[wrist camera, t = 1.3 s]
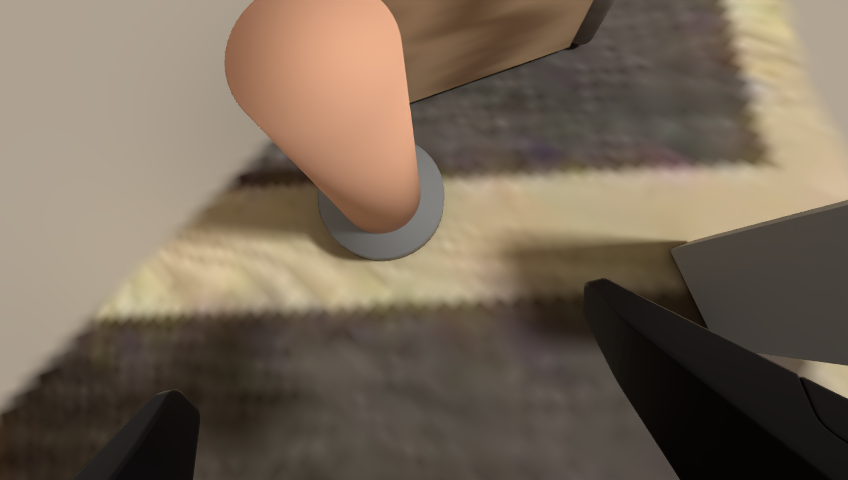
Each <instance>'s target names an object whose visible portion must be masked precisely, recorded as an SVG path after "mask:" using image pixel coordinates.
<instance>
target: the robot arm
mask: <svg viewBox="0 0 848 480" xmlns="http://www.w3.org/2000/svg"><path fill="white" fill-rule="evenodd" d="M583 313H584V316H585V319H586V321H587V323H588V325H589V327H590V329H591V331H592V333H593V335H594V337H595V339H596V341H597V343H598V345H599V347H600V349H601V351H602V353H603V355H604V357H605V359H606V361H607V363H608V365H609V367H610V369H611V371H612V373H613V375H614V377H615V378H616V380H617V382H618V384H619V385H620V387H621V389H622V390H623V392H624V393H625V395H626V397H627V398H628V400H629V401H630V403H631V404H632V406H633V407H634V409H635V411H636V412H637V414H638V415H639V417H640V418H641V420H642V421H643V423H644V424H645V426H646V428H647V429H648V431H649V432H650V434H651V435H652V437H653V438H654V440H655V442H656V443H657V445H658V446H659V448H660V449H661V451H662V452H663V454H664V456H665V457H666V459H667V460H668V462H669V463H670V465H671V466H672V468H673V469H674V471H675V473H676V474H677V476H678V477H679V479H680V480H848V399H847V398H845V397H843V396H841V395H839V394H837V393H835V392H833V391H831V390H829V389H827V388H825V387H823V386H821V385H819V384H817V383H815V382H813V381H811V380H809V379H807V378H805V377H800V378H799V376H798V375H797V374H796V373H794V372H792V371H790V370H788V369H786V368H784V367H782V366H780V365H778V364H776V363H774V362H772V361H770V360H768V359H766V358H764V357H762V356H760V355H758V354H756V353H754V352H752V351H750V350H748V349H746V348H744V347H742V346H740V345H738V344H736V343H734V342H732V341H730V340H728V339H726V338H724V337H722V336H720V335H718V334H716V333H714V332H712V331H710V330H708V329H706V328H704V327H702V326H700V325H698V324H696V323H694V322H692V321H690V320H688V319H686V318H684V317H682V316H680V315H678V314H676V313H674V312H672V311H670V310H668V309H666V308H664V307H662V306H660V305H658V304H656V303H654V302H652V301H650V300H648V299H646V298H644V297H642V296H640V295H638V294H636V293H634V292H632V291H630V290H628V289H626V288H624V287H622V286H620V285H618V284H616V283H614V282H612V281H610V280H608V279H605V278H601V279H597V280H593V281H589V282H587V283H586V284H585V285H584V296H583ZM199 424H200V414H199V411H198V409H197V408H196V406H195V405H194V404H193V403H192V402H191V401H190V400H189V399H188V398H187V397H186V396H185V395H184V394H183V393H182V392H181V391H180V390H177V389H172V390H168V391H164V392H160V393H157V394H155V395H154V396H153V397H152V398H151V399H150V400H149V401H148V402H147V403H146V404H145V405H144V406H143V407H142V408H141V409H140V410H139V411H138V412H137V413H136V414H135V415H134V416H133V417H132V418H131V419H130V420H129V421H128V422H127V423H126V424H125V425H124V427H123V428H122V429H121V430H120V431H119V432H118V433H117V434H116V435H115V436H114V437H113V438H112V439H111V440H110V441H109V442H108V443H107V444H106V445H105V446H104V447H103V448H102V449H101V450H100V451H99V452H98V453H97V454H96V455H95V456H94V457H93V458H92V460H91V461H90V462H89V463H88V464H87V465H86V466H85V467H84V468H83V469H82V470H81V471H80V472H79V473H78V474H77V475H76V476H75V477H74V478H73V479H72V480H193V475H194V467H195V458H196V450H197V441H198V433H199Z"/></svg>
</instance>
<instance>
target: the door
mask: <svg viewBox="0 0 848 480" xmlns="http://www.w3.org/2000/svg"><path fill="white" fill-rule="evenodd" d="M381 1H382V2H383V3H384V4H385V5H386V6H387V7H388V9H389V10H390V12H391V13H392V15H393V17H394V19H395V21H396V23H397V25H398V28H399V32H400V35H401V41H402V48H403V56H404V64H405V72H406V80H407V88H408V96H409V103H411V102H414V101H417V100H420V99H423V98H426V97H428V96H431V95H434V94H437V93H440V92H443V91H445V90H448V89H451V88H454V87H457V86H460V85H463V84H465V83H468V82H471V81H474V80H477V79H480V78H482V77H485V76H488V75H491V74H494V73H497V72H499V71H502V70H505V69H508V68H511V67H514V66H517V65H519V64H522V63H525V62H528V61H531V60H534V59H536V58H539V57H542V56H545V55H548V54H551V53H554V52H556V51H559V50H562V49H565V48H568V47H570V45H571V43H574V44H579V45H581V44H586V43H588V42H589V41H591V39H592V38H593V36H594V35H595V33H596V31H597V29H598V28H599V26H600V24H601V23H602V21H603V19H604V17H605V16H606V14H607V12H608V11H609V9H610V7H611V5H612V4H613V2H614V0H381Z"/></svg>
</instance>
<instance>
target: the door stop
mask: <svg viewBox="0 0 848 480" xmlns="http://www.w3.org/2000/svg"><path fill="white" fill-rule="evenodd" d="M225 73H226V78H227V82H228V85H229V87H230V90H231V93H232V95H233V96H234V98H235V100H236V102H237V103H238V104H239V106H240V107H241V108H242V109H243V111H245V113H246V114H247V115H248V116H249V117H250V118H251V119H252V120H253V121H254V122H255V123H256V124H257V125H258V126H259V127H260V128H261V129H262V130H263V131H264V132H265V133H266V134H267V135H268V136H269V137H270V138H271V139H272V141H273V142H274V143H275V144H276V145H277V146H278V147H279V148H280V149H281V150H282V151H283V152H284V153H285V154H286V155H287V156H288V157H289V158H290V159H291V160H292V161H293V162H294V163H295V164H296V165H297V166H298V167H299V168H300V169H301V170H302V171H303V172H304V173H305V174H306V176H307V177H308V178H309V179H310V180H311V181H312V182H313V183H314V184H315V185H316V186H317V187H318V188H319V191H318V205H319V211H320V215H321V218H322V220H323V223H324V225H325V227H326V228H327V230H328V231H329V233H330V234H331V235H332V237H333V238H334V239H335V240H336V241H337V242H338V243H340V244H341V245H342V246H344V247H345V248H347V249H348V250H350V251H351V252H353V253H355V254H356V255H358V256H361V257H363V258H367V259H371V260H377V261H389V260H396V259H400V258H403V257H406V256H408V255H410V254H412V253H414V252H415V251H417V250H419V249H420V248H421V247H422V246H424V245H425V244H426V243H427V242H428V241H429V240H430V238H431V237H432V236H433V234H434V233H435V231H436V229H437V228H438V226H439V223H440V220H441V217H442V213H443V205H444V186H443V181H442V177H441V174H440V172H439V170H438V168H437V166H436V164H435V163H434V161H433V160H432V158H431V157H430V156H429V155H428V154H427V153H426V152H425V151H424V150H423V149H422V148H420V147H419V146H417V145H416V144H415V143H414V136H413V128H412V120H411V112H410V104H409V96H408V88H407V80H406V72H405V64H404V56H403V48H402V41H401V35H400V32H399V28H398V25H397V23H396V21H395V19H394V17H393V15H392V13H391V12H390V10H389V9H388V7H387V6H386V5H385V4H384V3H383V2H382V1H381V0H254V1H253V2H252V3H251V4H250V5H249V6H248V7H247V8H246V10H245V11H244V12H243V13H242V14H241V16H240V17H239V19H238V20H237V21H236V23H235V25H234V27H233V29H232V31H231V34H230V36H229V39H228V42H227V47H226V51H225Z"/></svg>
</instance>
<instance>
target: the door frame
mask: <svg viewBox="0 0 848 480" xmlns="http://www.w3.org/2000/svg"><path fill="white" fill-rule="evenodd" d="M670 251H671V253H672V255H673V258H674V260H675V262H676V264H677V266H678V268H679V270H680V272H681V274H682V276H683V278H684V280H685V282H686V284H687V286H688V288H689V290H690V292H691V294H692V296H693V298H694V300H695V303H696V305H697V307H698V309H699V311H700V313H701V315H702V317H703V319H704V321H705V323H706V325H707V327H708V329H709V330H710V331H712V332H714V333H716V334H718V335H720V336H722V337H724V338H726V339H728V340H730V341H732V342H734V343H736V344H738V345H740V346H742V347H744V348H746V349H748V350H750V351H752V352H754V353H761V354H768V355H775V356H782V357H790V358H797V359H804V360H811V361H818V362H825V363H833V364H840V365H847V366H848V200H846V201H842V202H839V203H835V204H831V205H827V206H823V207H820V208H816V209H812V210H808V211H804V212H800V213H797V214H793V215H789V216H785V217H781V218H777V219H774V220H770V221H766V222H762V223H758V224H755V225H751V226H747V227H743V228H739V229H735V230H732V231H728V232H724V233H720V234H716V235H713V236H709V237H705V238H701V239H697V240H694V241H691V242H688V243H686V244H683V245H680V246H678V247H675V248H672V249H670Z"/></svg>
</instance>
